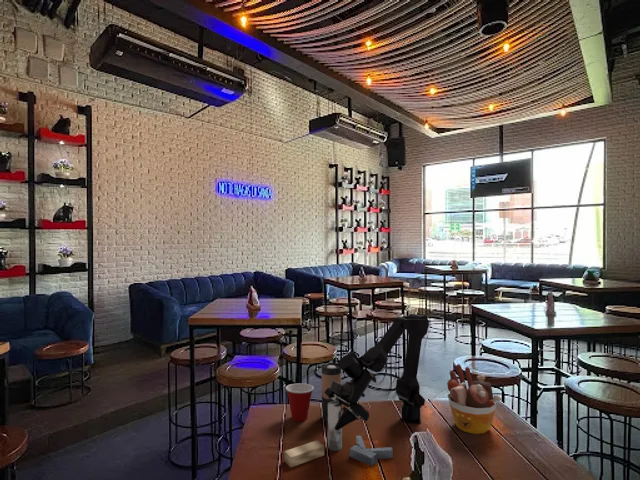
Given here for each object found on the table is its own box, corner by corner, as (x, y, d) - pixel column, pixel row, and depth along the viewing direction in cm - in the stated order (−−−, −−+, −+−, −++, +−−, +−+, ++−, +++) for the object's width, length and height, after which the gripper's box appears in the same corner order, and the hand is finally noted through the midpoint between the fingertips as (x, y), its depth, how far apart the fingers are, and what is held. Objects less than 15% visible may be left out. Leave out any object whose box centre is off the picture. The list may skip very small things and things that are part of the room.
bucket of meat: (509, 439, 127) (508, 380, 127) (462, 442, 125) (462, 382, 125) (478, 412, 147) (477, 362, 147) (437, 415, 145) (437, 363, 145)
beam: (317, 449, 121) (317, 440, 121) (324, 455, 118) (324, 445, 118) (284, 461, 115) (284, 451, 115) (290, 467, 111) (290, 457, 111)
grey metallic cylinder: (342, 444, 124) (342, 401, 124) (341, 451, 120) (340, 407, 120) (329, 442, 125) (328, 400, 125) (326, 450, 121) (326, 406, 121)
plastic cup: (317, 413, 146) (317, 383, 146) (308, 426, 136) (307, 393, 136) (292, 409, 150) (292, 379, 150) (281, 422, 140) (280, 390, 140)
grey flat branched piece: (358, 441, 125) (358, 434, 125) (394, 456, 117) (394, 448, 117) (342, 453, 119) (342, 445, 119) (379, 469, 110) (379, 461, 110)
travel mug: (340, 423, 138) (339, 369, 138) (319, 421, 140) (319, 368, 140) (342, 414, 146) (342, 363, 146) (323, 412, 147) (323, 361, 147)
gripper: (328, 364, 133) (301, 402, 127) (362, 380, 117) (333, 425, 111) (346, 382, 137) (321, 420, 131) (381, 400, 121) (354, 444, 115)
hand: (331, 426), depth 122 cm, fingers closed on grey metallic cylinder, 5 cm apart
